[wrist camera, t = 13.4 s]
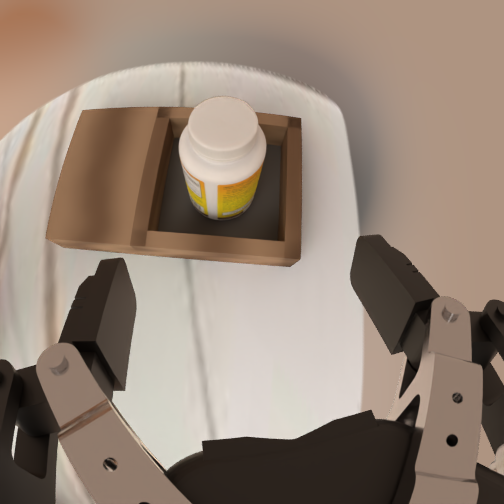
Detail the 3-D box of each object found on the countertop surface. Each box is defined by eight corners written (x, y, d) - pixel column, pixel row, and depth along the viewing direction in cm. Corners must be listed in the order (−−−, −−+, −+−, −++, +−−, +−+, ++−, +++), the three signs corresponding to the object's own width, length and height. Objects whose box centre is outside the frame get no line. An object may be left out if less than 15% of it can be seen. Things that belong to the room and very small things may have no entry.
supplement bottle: (262, 175, 26) (284, 102, 16) (241, 231, 25) (255, 177, 15) (203, 155, 26) (198, 77, 16) (178, 209, 25) (156, 146, 15)
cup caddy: (64, 247, 24) (45, 238, 20) (94, 129, 26) (82, 110, 23) (290, 266, 25) (300, 259, 22) (292, 138, 28) (301, 118, 24)
